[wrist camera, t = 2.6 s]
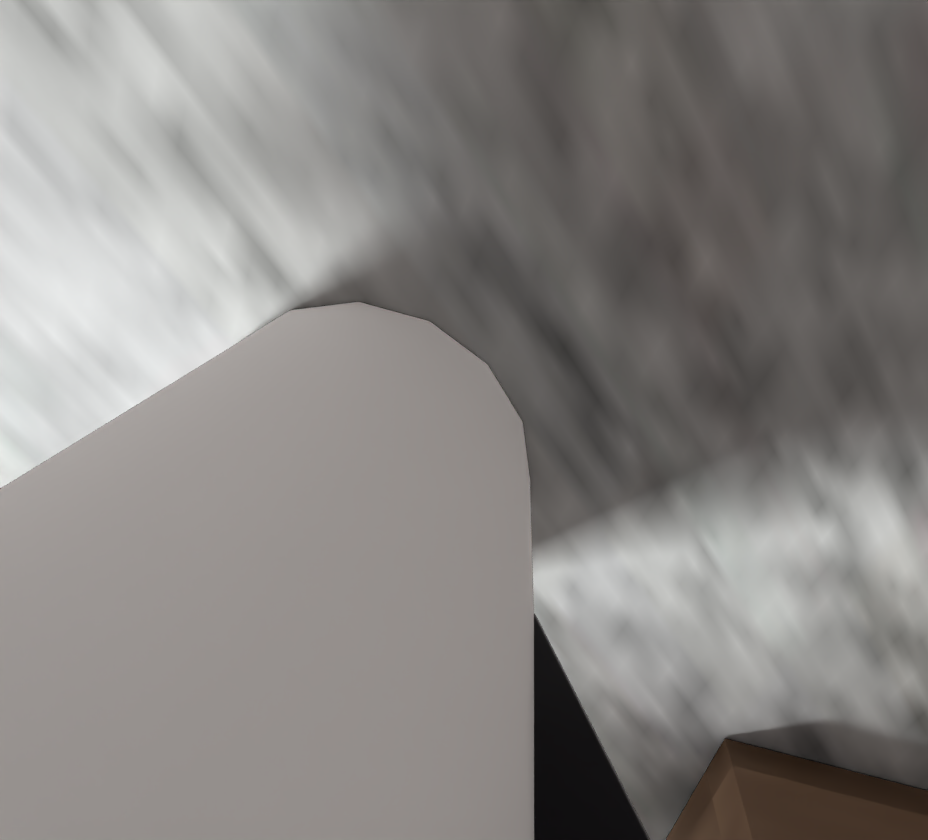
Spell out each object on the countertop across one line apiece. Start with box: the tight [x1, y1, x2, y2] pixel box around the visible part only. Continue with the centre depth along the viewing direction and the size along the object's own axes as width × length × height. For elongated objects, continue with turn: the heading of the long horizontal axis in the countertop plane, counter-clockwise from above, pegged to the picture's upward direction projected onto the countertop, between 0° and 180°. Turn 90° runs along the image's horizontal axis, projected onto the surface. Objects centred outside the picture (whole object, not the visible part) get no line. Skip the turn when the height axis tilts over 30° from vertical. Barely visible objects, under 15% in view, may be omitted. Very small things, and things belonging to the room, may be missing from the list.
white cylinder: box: [0, 302, 534, 840], centre depth 7 cm, size 7×7×10 cm
